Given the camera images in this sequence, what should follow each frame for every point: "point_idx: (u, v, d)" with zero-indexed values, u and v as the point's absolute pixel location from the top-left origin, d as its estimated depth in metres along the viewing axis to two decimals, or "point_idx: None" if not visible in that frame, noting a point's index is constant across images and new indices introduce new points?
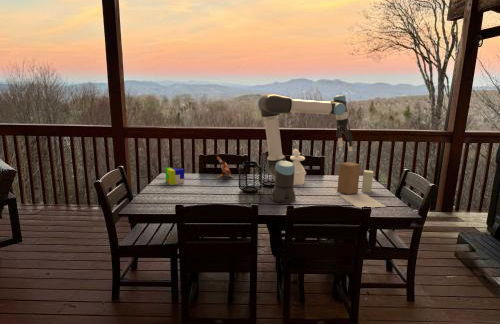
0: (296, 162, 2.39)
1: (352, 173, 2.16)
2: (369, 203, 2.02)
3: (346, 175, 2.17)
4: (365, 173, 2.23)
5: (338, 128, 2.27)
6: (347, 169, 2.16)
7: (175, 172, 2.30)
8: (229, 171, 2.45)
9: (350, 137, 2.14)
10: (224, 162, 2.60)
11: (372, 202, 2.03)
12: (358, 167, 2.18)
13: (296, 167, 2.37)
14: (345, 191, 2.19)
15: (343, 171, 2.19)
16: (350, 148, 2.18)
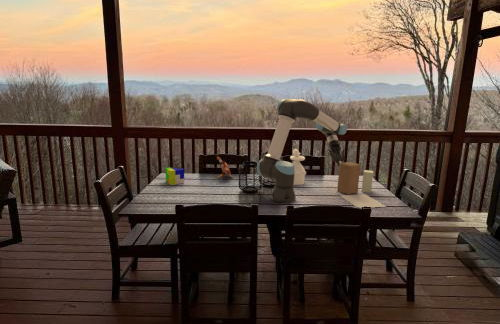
0: (296, 162, 2.39)
1: (352, 173, 2.16)
2: (369, 203, 2.02)
3: (346, 175, 2.17)
4: (365, 173, 2.23)
5: (331, 152, 2.37)
6: (347, 169, 2.16)
7: (175, 172, 2.30)
8: (229, 171, 2.45)
9: None
10: (224, 162, 2.60)
11: (372, 202, 2.03)
12: (358, 167, 2.18)
13: (296, 167, 2.37)
14: (345, 191, 2.19)
15: (343, 171, 2.19)
16: None
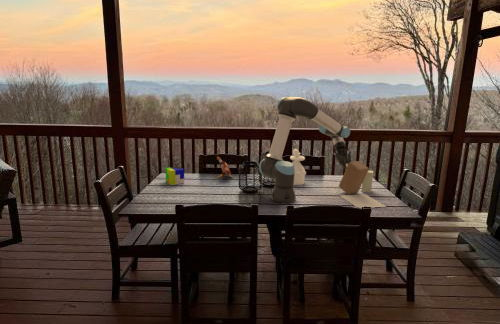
0: (296, 162, 2.39)
1: (359, 176, 2.12)
2: (369, 203, 2.02)
3: (352, 176, 2.13)
4: None
5: (337, 154, 2.30)
6: (355, 171, 2.11)
7: (175, 172, 2.30)
8: (229, 171, 2.45)
9: None
10: (224, 162, 2.60)
11: (372, 202, 2.03)
12: (366, 171, 2.13)
13: (296, 167, 2.37)
14: (346, 190, 2.18)
15: (350, 171, 2.14)
16: None
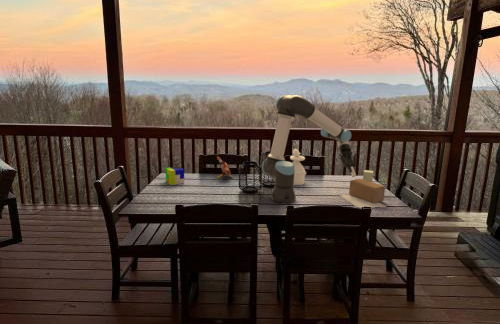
0: (296, 162, 2.39)
1: None
2: (369, 203, 2.02)
3: (364, 196, 2.06)
4: (365, 173, 2.23)
5: None
6: (370, 198, 2.03)
7: (175, 172, 2.30)
8: (229, 171, 2.45)
9: None
10: (224, 162, 2.60)
11: None
12: None
13: (296, 167, 2.37)
14: (350, 191, 2.15)
15: (367, 192, 2.04)
16: None
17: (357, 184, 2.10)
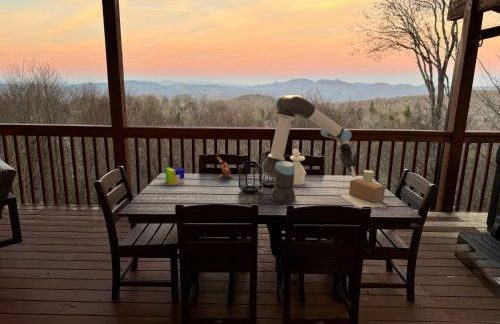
0: (296, 162, 2.39)
1: None
2: (369, 203, 2.02)
3: (364, 196, 2.06)
4: (365, 173, 2.23)
5: None
6: (370, 198, 2.03)
7: (175, 172, 2.30)
8: (229, 171, 2.45)
9: None
10: (224, 162, 2.60)
11: None
12: None
13: (296, 167, 2.37)
14: (350, 191, 2.15)
15: (367, 192, 2.04)
16: None
17: (357, 184, 2.10)
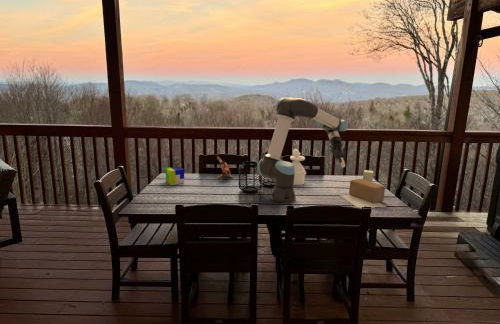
0: (296, 162, 2.39)
1: None
2: (369, 203, 2.02)
3: (364, 196, 2.06)
4: (365, 173, 2.23)
5: None
6: (370, 198, 2.03)
7: (175, 172, 2.30)
8: (229, 171, 2.45)
9: None
10: (224, 162, 2.60)
11: None
12: None
13: (296, 167, 2.37)
14: (350, 191, 2.15)
15: (367, 192, 2.04)
16: None
17: (357, 184, 2.10)
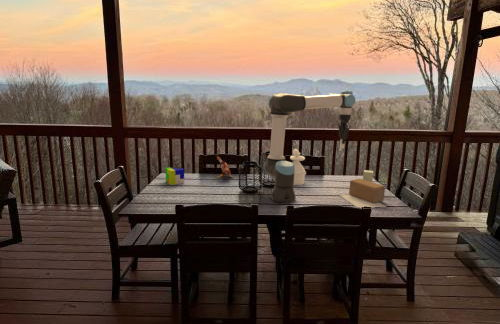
0: (296, 162, 2.39)
1: None
2: (369, 203, 2.02)
3: (364, 196, 2.06)
4: (365, 173, 2.23)
5: None
6: (370, 198, 2.03)
7: (175, 172, 2.30)
8: (229, 171, 2.45)
9: (345, 135, 2.24)
10: (224, 162, 2.60)
11: None
12: None
13: (296, 167, 2.37)
14: (350, 191, 2.15)
15: (367, 192, 2.04)
16: (342, 145, 2.29)
17: (357, 184, 2.10)
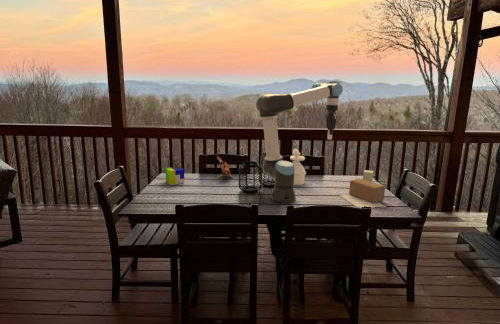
0: (296, 162, 2.39)
1: None
2: (369, 203, 2.02)
3: (364, 196, 2.06)
4: (365, 173, 2.23)
5: (327, 117, 2.27)
6: (370, 198, 2.03)
7: (175, 172, 2.30)
8: (229, 171, 2.45)
9: (333, 126, 2.21)
10: (224, 162, 2.60)
11: None
12: None
13: (296, 167, 2.37)
14: (350, 191, 2.15)
15: (367, 192, 2.04)
16: (330, 136, 2.26)
17: (357, 184, 2.10)
